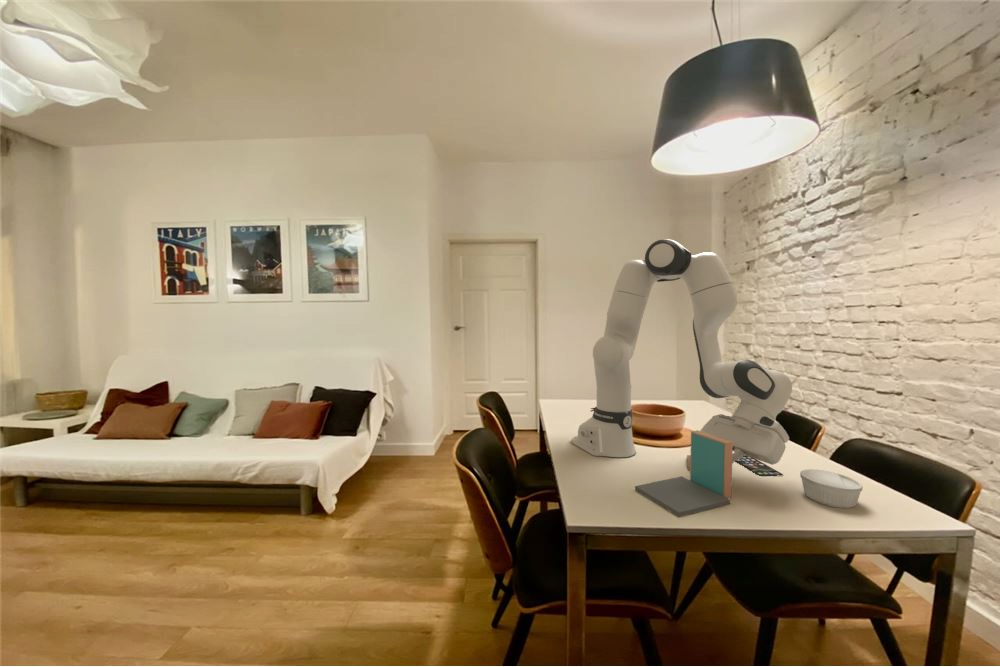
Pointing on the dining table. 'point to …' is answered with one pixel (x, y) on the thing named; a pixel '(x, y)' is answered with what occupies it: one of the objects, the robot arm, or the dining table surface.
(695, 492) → the mat
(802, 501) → the dining table surface
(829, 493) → the ramekin
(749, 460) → the smartphone
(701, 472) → the tile
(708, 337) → the robot arm
